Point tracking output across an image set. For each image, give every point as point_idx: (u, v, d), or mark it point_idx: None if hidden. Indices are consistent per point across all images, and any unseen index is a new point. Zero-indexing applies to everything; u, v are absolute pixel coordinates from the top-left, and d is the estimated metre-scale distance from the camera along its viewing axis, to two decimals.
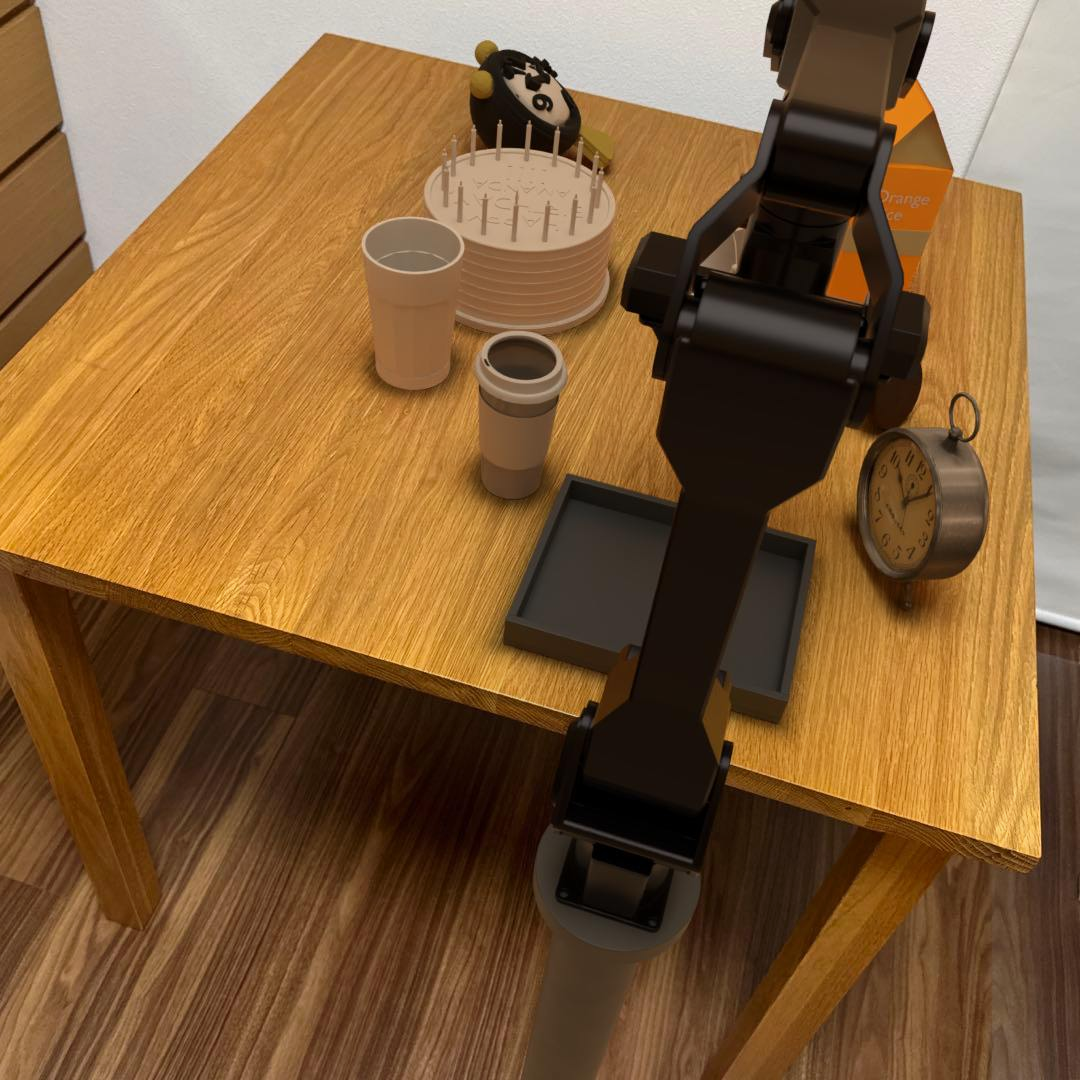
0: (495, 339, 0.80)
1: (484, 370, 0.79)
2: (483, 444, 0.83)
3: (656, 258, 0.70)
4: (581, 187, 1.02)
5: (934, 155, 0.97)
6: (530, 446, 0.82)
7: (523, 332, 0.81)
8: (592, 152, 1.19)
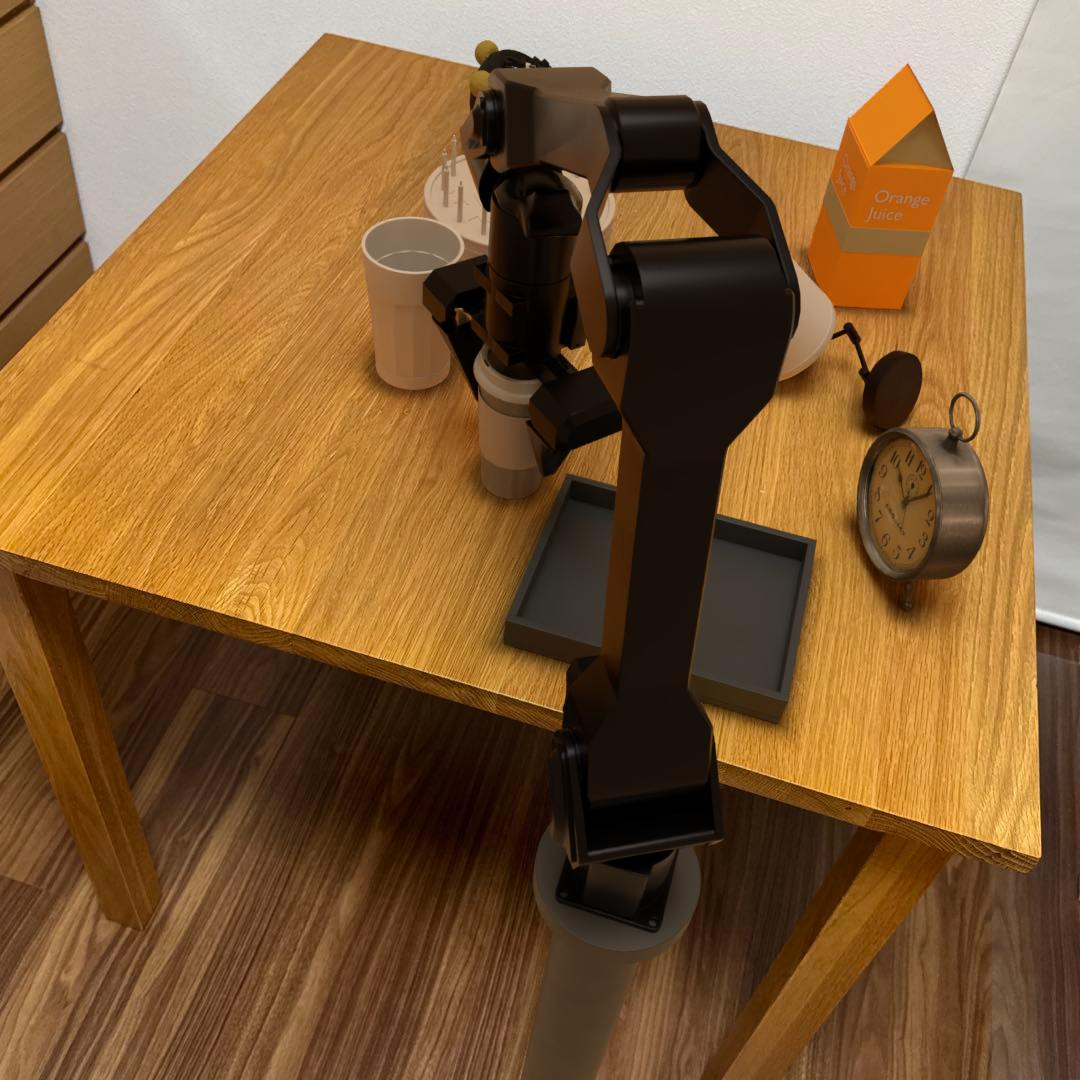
0: None
1: (484, 370, 0.79)
2: (483, 444, 0.84)
3: (457, 271, 0.81)
4: (581, 187, 1.02)
5: (934, 155, 0.97)
6: (530, 446, 0.82)
7: None
8: None
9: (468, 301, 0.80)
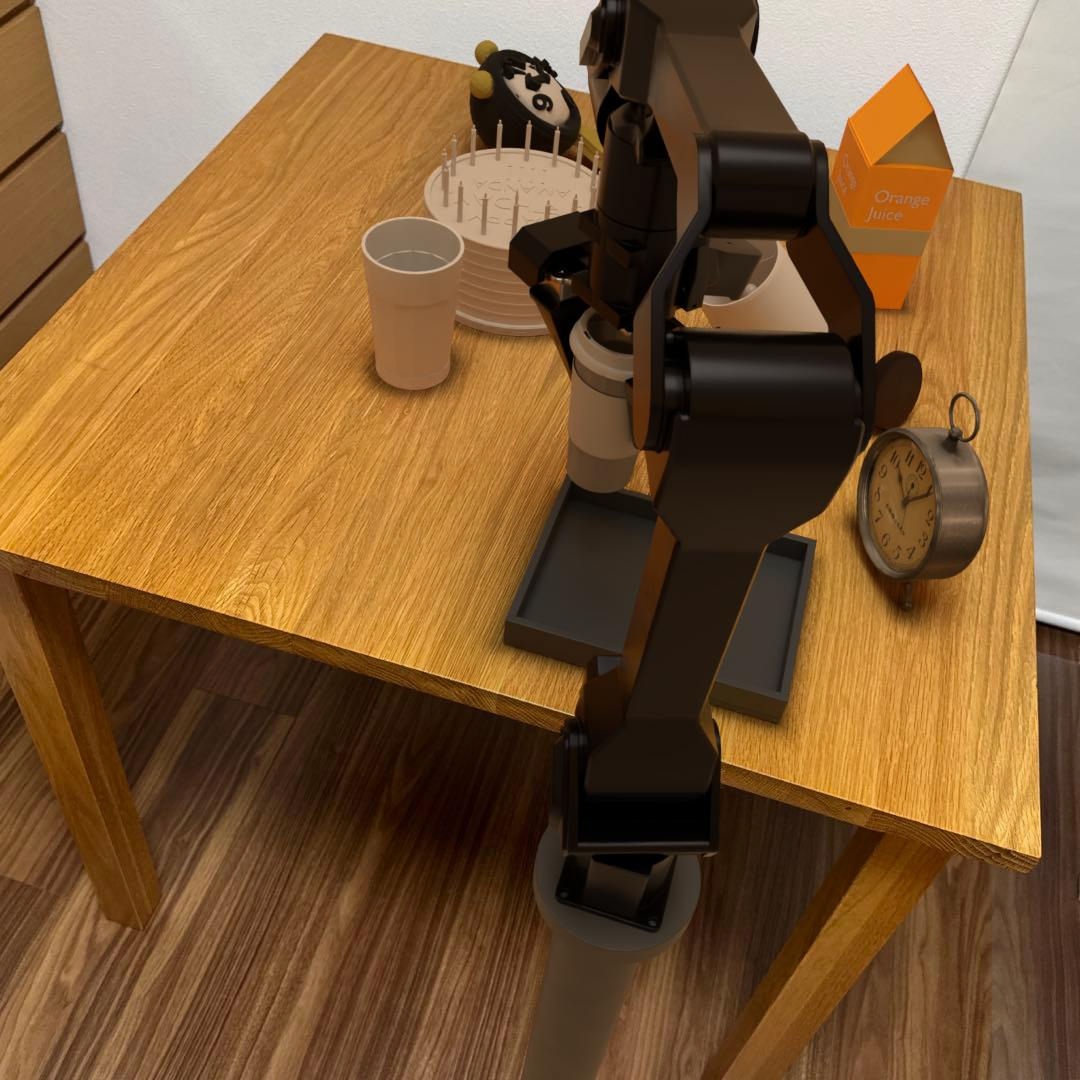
0: None
1: (584, 344, 0.69)
2: (574, 430, 0.74)
3: (549, 228, 0.71)
4: (581, 187, 1.02)
5: (935, 155, 0.97)
6: None
7: None
8: (592, 152, 1.19)
9: (563, 261, 0.71)
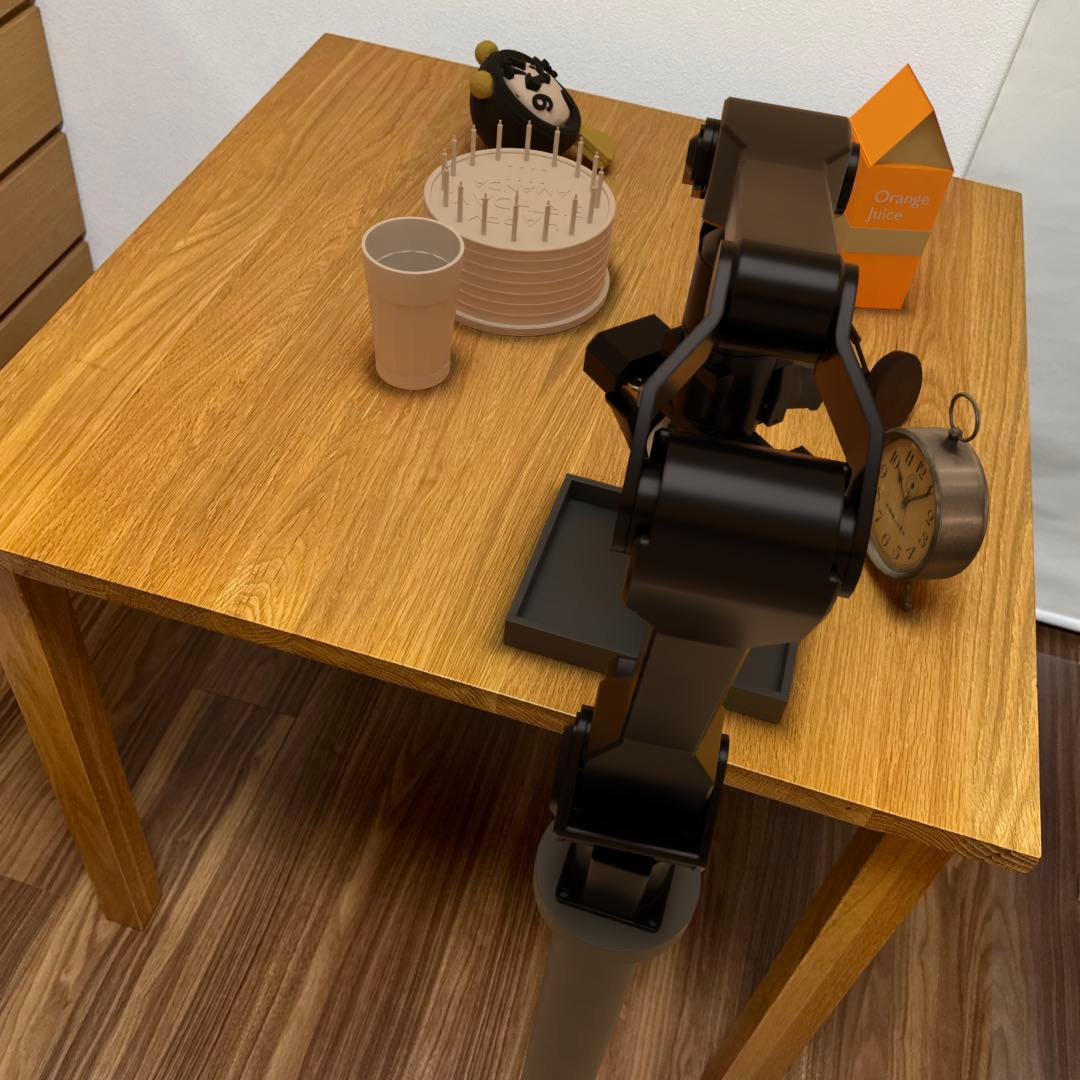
0: None
1: None
2: None
3: (626, 334, 0.71)
4: (581, 187, 1.02)
5: (935, 155, 0.97)
6: None
7: None
8: (592, 152, 1.19)
9: (640, 369, 0.70)
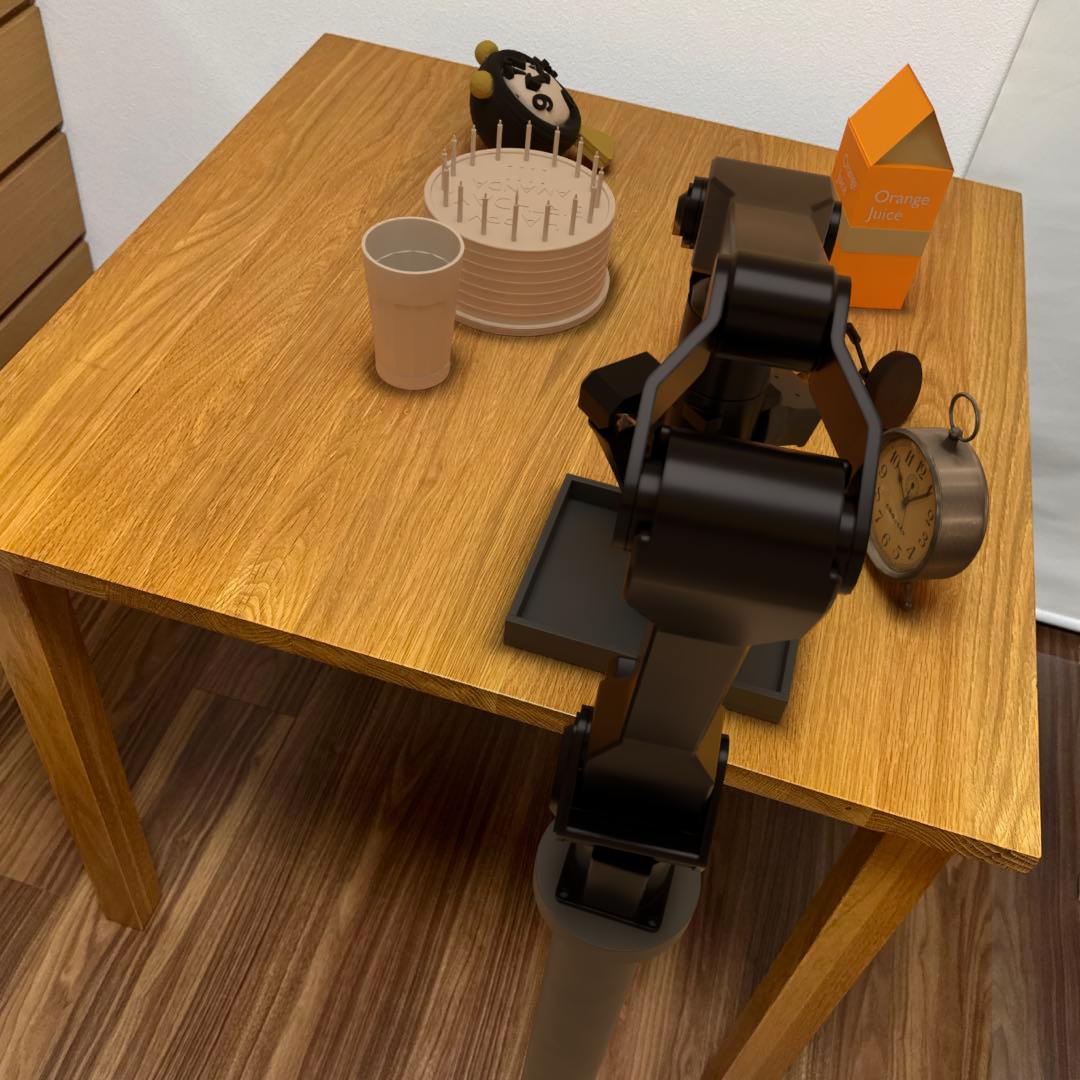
0: None
1: None
2: None
3: (619, 372, 0.73)
4: (581, 187, 1.02)
5: (935, 155, 0.97)
6: None
7: None
8: (592, 152, 1.19)
9: (633, 406, 0.72)
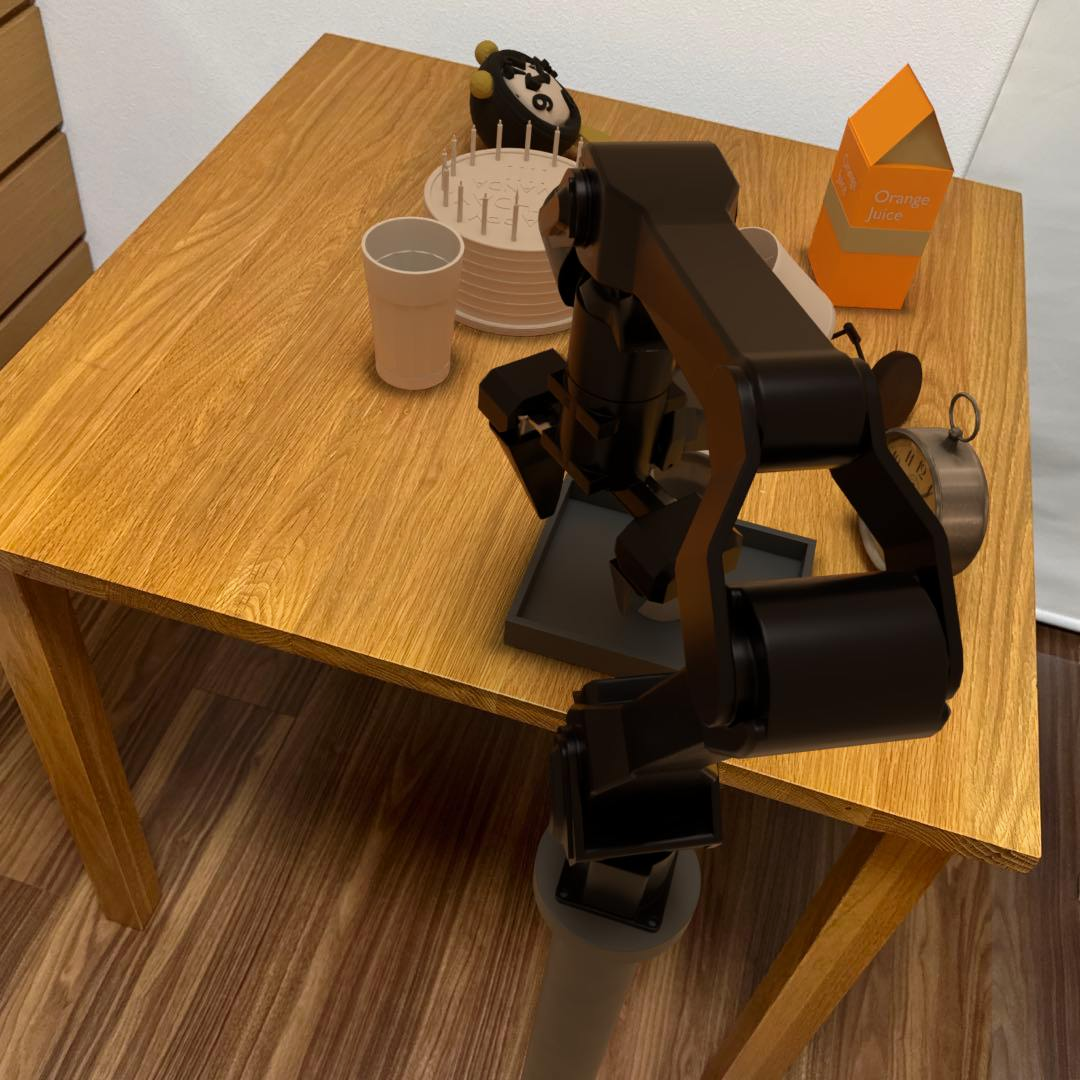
0: None
1: None
2: None
3: (521, 371, 0.68)
4: None
5: (935, 155, 0.97)
6: None
7: None
8: None
9: (534, 407, 0.67)
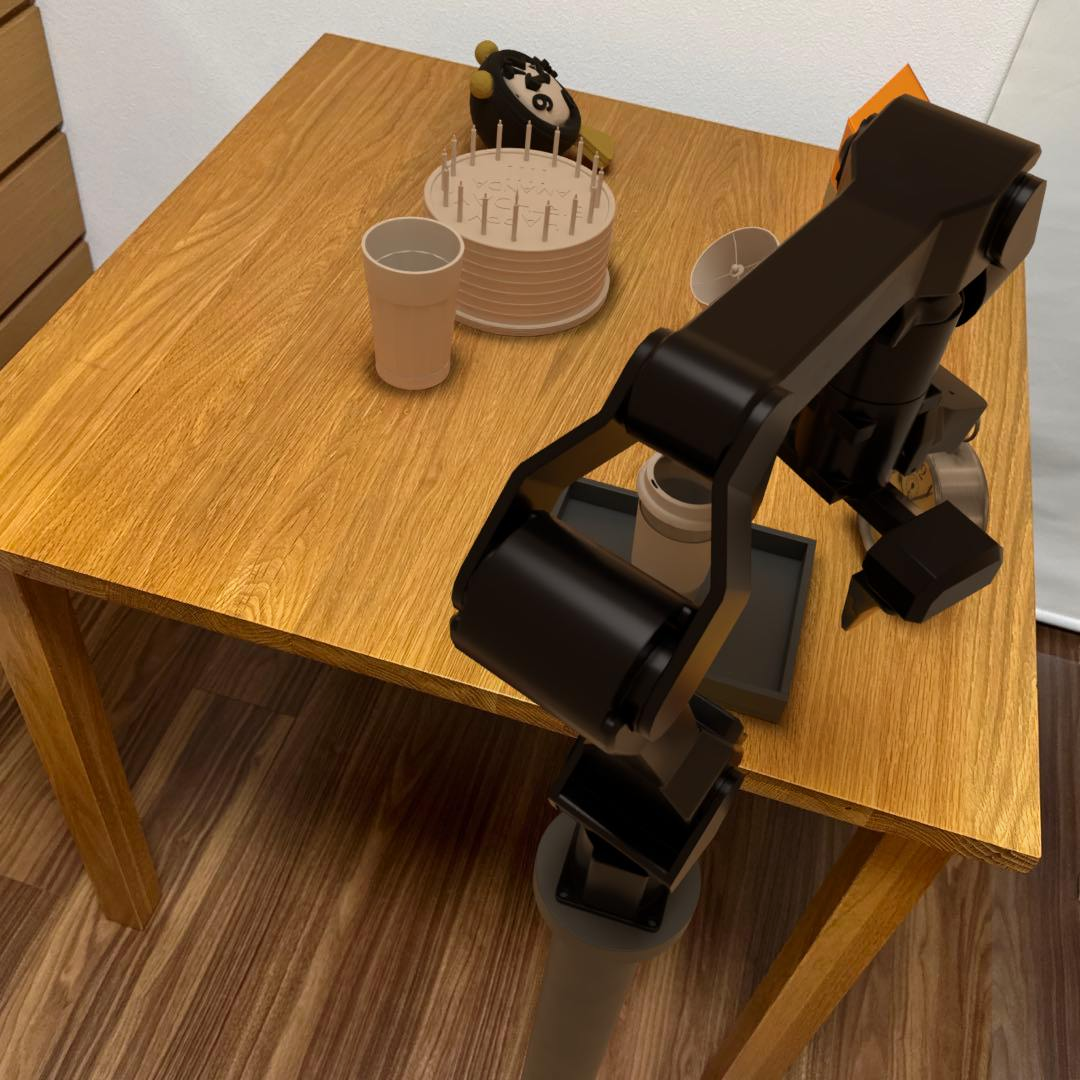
0: (659, 455, 0.73)
1: (651, 492, 0.71)
2: (639, 565, 0.76)
3: None
4: (581, 187, 1.02)
5: None
6: (694, 571, 0.74)
7: None
8: (592, 152, 1.19)
9: None
